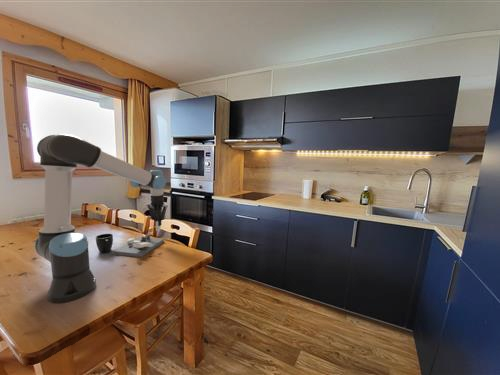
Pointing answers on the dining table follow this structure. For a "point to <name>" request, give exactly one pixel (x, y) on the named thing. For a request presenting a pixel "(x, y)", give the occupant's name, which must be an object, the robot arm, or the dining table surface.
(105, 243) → the mug
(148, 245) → the rocker
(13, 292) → the dining table surface
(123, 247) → the panel
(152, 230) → the lever
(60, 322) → the dining table surface
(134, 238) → the button
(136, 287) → the dining table surface
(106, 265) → the dining table surface
